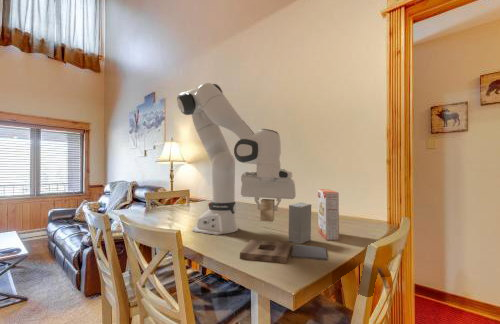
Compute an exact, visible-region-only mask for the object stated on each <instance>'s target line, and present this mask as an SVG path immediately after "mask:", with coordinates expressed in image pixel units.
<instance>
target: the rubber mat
mask: <svg viewBox="0 0 500 324" xmlns="http://www.w3.org/2000/svg"><path fill="white" fill-rule="evenodd" d="M291 250H292V251H291V258H298V259H299V258H300V259H308V260H309V259H310V260H319V261H320V260H321V261H328V256H327V255H328V254H327V251H326V250H327V247H326V246H313V245H302V244H293V248H292V249H291Z"/></svg>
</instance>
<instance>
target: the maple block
mask: <svg viewBox="0 0 500 324" xmlns="http://www.w3.org/2000/svg"><path fill="white" fill-rule="evenodd" d="M275 200H276V198H261V199H260V204H261V209H260V215H259V216H260V217H259V218H260V219H259V220H260V221H259V222H269V223H272V222H273V221H275V211H273V209H274V208H273V206H274V205H276V204H275Z"/></svg>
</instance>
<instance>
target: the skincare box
mask: <svg viewBox="0 0 500 324" xmlns="http://www.w3.org/2000/svg"><path fill="white" fill-rule="evenodd" d="M311 237H312V204H311V203H306V202H305V203H304V202H295V203H292V204H288V237H287V238H288V242H290V243H291V242H292V243H294V244H297V245H302V244H304V243H306V242H308V241H310V240H312V239H311Z"/></svg>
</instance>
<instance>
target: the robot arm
mask: <svg viewBox="0 0 500 324" xmlns="http://www.w3.org/2000/svg"><path fill="white" fill-rule="evenodd" d="M176 103H177V107H178V109H179V111H180V113H182V114H184V115H185V116H191V118H192V121H193V123H192V124H193V125H194V126H193V127H194V128H195V130H196V133H197V134H198V136H199V139H200V141H201V144H202V146H203V148H204V149H205V151H206V153H207V155H208V157H209V160H210V162H211V172H212V173H211V175H212V176H211V177H212V201H211V202H209V203H208V204H207V207H208V209H206V211H205V212H204V213H202V214H200V216H199V217H198V219H197V222H196V225H195V226H193V227H192V229H191V231H192V232H195V233H202V234H209V235H210V234H211V235H214V236H215V235H218V236H220V235H223V234H231V233H235V232H237V231H238V230H239V229H238V225H237V220H236V207H237V204H236V201H235V198H236V197H235V196H236V195H235V189H236V188H235V187H236V186H235V184H236V182H235V181H236V161H238V162H240V163H243V164H250V165H256V171H254V172H253V171H252V172H248V171H245V172H244V173H242V174H241V178H240V181H241V187H240V195H241V197H243V198H247V197H248V198H254V202H255V203H256V207H257V210H260V209H261V202H260V201H259V200H260V199H276V204H275V205H274V206H273V208H274V209H273V211H274V212H275V211H276V212H277V211H279V210H278V209H279V206H280V205H279V204H280V203H281V202H282V200H284V199H285V200H294V199H295V197H296V195H297V194H296V185H295V181H294V179H293V172H292V171H288V170H286V169H283V168H281V161H280V158H281V157H280V156H281V153H282V152H281V150H282V149H281V147H282V145H281V137H280V134H279V133H278V132H277V131H276V130H273V129H270V128H269V129H267V128H261V129H259V130H258V131H257V132H256V133H254V131H253V130H252V129H251V127H249V124H247V123H246V122H245V121H244V120H243V119H242V117H241V115H239V114H238V112H237V111H236V110H235V108H234V107H233V106H232V103H230V101H229V100H228V98H227V97H226V96H225V94H224V93H223V90H222V88H221V87H220V86H219V85H218V84H217V83H211V82H203V83H201V85H199V86H196V87H195V88H192V89H191V88H190V89H189V90H186V91H182V92H181V93H179V94H178V95H177V97H176ZM221 127H222V128H225V129H227V130H229V131H230V132H232V133H234V134H235V135H236V136H237V137H238V139H239V140H238V141H237V142H236V143H235V145H234V148H233V154H234V155H232V152H231V150H230V149H229V146H228V144H227V142H226V139H225V137H224V134H223V132H222V130H221ZM235 159H236V160H235Z"/></svg>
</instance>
